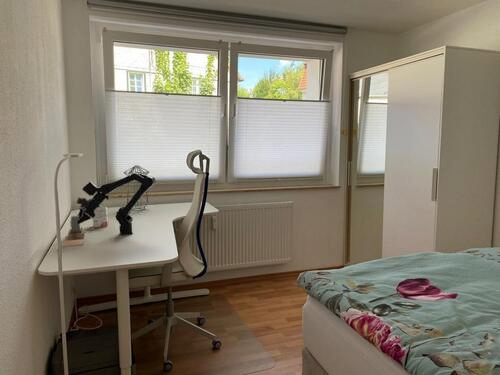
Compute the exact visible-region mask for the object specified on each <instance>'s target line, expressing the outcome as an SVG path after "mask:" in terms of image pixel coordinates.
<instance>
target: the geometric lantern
mask: <svg viewBox="0 0 500 375" xmlns="http://www.w3.org/2000/svg"><path fill="white" fill-rule="evenodd" d="M128 171H129V172H128ZM133 173H139V174H142V175H146V176H148V174H149V173H150V171H149V170H147V169H145V168H143V167H141V166H140V165H134V166H132V167H131V168H128V169H127V170H126V171H124V172H123V174H124V175H126V177H127V176H129V175H132V174H133ZM129 184H132V181H131V182H129V183H127V187H129ZM133 185H134V186H133V196H134V195H135V194H136V192H137V191H138V190H139V188H140V186H141V183H140V182H138V181H136V180H134V181H133ZM138 185H139V186H138ZM138 187H139V188H138ZM145 196H146V197H145V198H146V203H143V201H140V202H139V201H138V202H137V203H136V205H135V206H134V207H133V209H132V210H131V212H132V211H136V212H137V211H138V212H140V211H144V210H146V207H147V206H148V205H149V197H148V196H149V195H148V190H147V191H146V192H145ZM126 197H127V198H126V205H127V204H128V203H129V191H127V196H126ZM140 200H142V197H141V198H140Z"/></svg>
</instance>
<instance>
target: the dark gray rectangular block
mask: <svg viewBox="0 0 500 375" xmlns="http://www.w3.org/2000/svg"><path fill="white" fill-rule="evenodd" d="M77 215H78V214H77ZM77 215H71V216H70V217H71V218H70V220H69V222H70V224H69V225H70V228H72V233H78V232H80V229H81V223H80V224H78V223H77V222H78V221H79V215H78V216H77Z"/></svg>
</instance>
